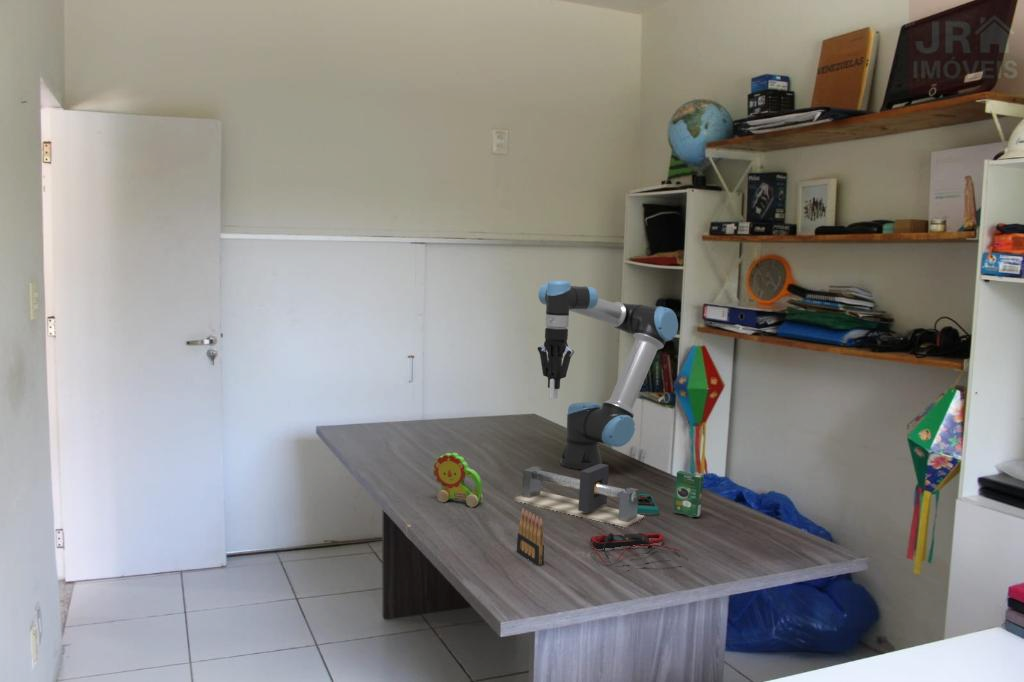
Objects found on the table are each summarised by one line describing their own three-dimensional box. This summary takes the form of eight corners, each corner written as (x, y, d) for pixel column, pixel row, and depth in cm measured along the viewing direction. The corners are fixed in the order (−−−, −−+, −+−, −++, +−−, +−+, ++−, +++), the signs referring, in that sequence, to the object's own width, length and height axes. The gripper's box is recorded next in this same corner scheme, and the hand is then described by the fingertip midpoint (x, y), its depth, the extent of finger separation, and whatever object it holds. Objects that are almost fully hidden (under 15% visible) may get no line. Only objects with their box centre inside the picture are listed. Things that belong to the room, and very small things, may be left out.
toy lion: (483, 503, 261) (485, 455, 259) (476, 508, 256) (478, 459, 254) (437, 496, 267) (439, 448, 265) (429, 500, 262) (431, 452, 260)
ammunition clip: (516, 551, 222) (518, 507, 220) (522, 550, 222) (524, 506, 221) (537, 566, 212) (539, 519, 211) (543, 564, 213) (546, 518, 212)
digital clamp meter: (575, 528, 230) (659, 523, 237) (575, 544, 230) (658, 539, 237) (609, 560, 207) (701, 553, 214) (608, 578, 208) (699, 570, 215)
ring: (578, 510, 252) (580, 471, 250) (598, 501, 261) (600, 463, 260) (587, 512, 250) (589, 472, 248) (606, 503, 260) (608, 465, 258)
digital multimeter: (651, 502, 271) (652, 493, 271) (658, 517, 256) (659, 507, 256) (628, 501, 271) (629, 492, 271) (634, 515, 256) (634, 506, 256)
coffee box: (701, 517, 257) (704, 475, 255) (697, 519, 254) (700, 476, 253) (676, 511, 261) (679, 469, 260) (672, 513, 259) (675, 471, 257)
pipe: (522, 496, 267) (523, 469, 266) (532, 492, 271) (533, 465, 270) (627, 522, 246) (629, 492, 245) (636, 517, 251) (638, 488, 250)
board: (513, 500, 265) (513, 497, 265) (534, 492, 275) (535, 489, 275) (625, 528, 243) (625, 525, 243) (644, 518, 253) (644, 515, 253)
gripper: (533, 326, 279) (530, 397, 282) (567, 330, 272) (564, 402, 274) (546, 325, 285) (542, 394, 288) (579, 328, 278) (575, 399, 281)
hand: (553, 398), depth 281 cm, fingers closed
